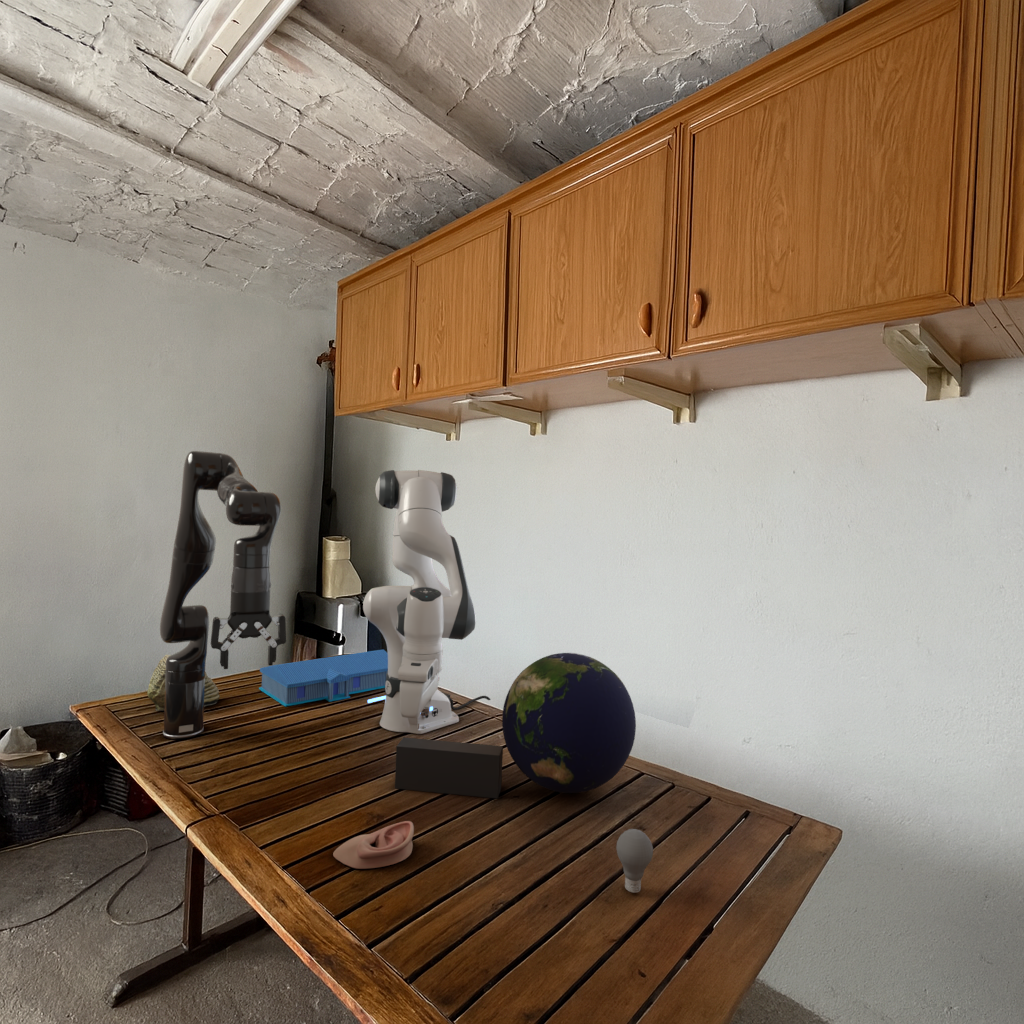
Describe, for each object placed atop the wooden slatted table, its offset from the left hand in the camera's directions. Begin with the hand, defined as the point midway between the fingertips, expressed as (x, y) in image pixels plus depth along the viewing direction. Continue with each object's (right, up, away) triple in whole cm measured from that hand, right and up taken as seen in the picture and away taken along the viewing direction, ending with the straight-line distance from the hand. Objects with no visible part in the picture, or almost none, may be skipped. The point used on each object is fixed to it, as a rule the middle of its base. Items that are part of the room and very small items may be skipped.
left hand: (248, 666), depth 131 cm
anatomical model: (+30, -29, -17) cm, 45 cm away
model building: (-4, -26, +77) cm, 82 cm away
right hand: (+34, -15, +11) cm, 39 cm away
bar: (+40, -29, +10) cm, 51 cm away
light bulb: (+75, -32, -25) cm, 85 cm away
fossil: (-42, -25, +54) cm, 73 cm away
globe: (+67, -30, +12) cm, 74 cm away
